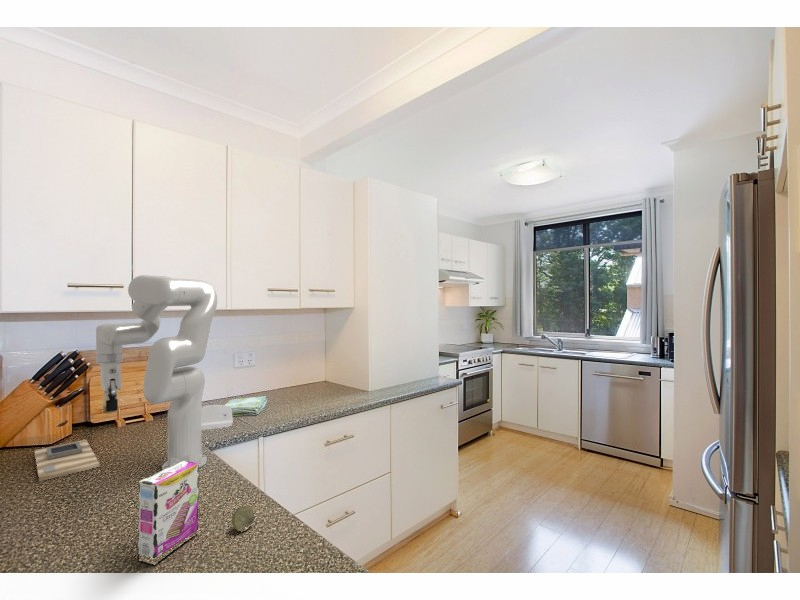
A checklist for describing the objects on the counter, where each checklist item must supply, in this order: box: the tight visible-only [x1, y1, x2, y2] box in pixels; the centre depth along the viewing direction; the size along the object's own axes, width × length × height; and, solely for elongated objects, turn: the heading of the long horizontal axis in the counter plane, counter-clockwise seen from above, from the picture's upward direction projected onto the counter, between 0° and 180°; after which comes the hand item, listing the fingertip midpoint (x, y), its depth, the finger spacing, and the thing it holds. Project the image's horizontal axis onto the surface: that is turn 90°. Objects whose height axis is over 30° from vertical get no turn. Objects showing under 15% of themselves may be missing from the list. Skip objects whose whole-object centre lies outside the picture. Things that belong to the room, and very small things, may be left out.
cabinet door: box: [33, 439, 100, 482], centre depth 128 cm, size 30×14×3 cm, turn 46°
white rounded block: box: [201, 404, 234, 431], centre depth 163 cm, size 17×5×10 cm, turn 110°
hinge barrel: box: [101, 390, 119, 414], centre depth 137 cm, size 4×4×7 cm
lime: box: [231, 505, 255, 532], centre depth 89 cm, size 4×5×5 cm
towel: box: [224, 395, 268, 417], centre depth 186 cm, size 18×21×5 cm
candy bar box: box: [137, 461, 200, 558], centre depth 82 cm, size 11×5×16 cm, turn 163°
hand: (110, 409), depth 137 cm, fingers closed on hinge barrel, 4 cm apart
